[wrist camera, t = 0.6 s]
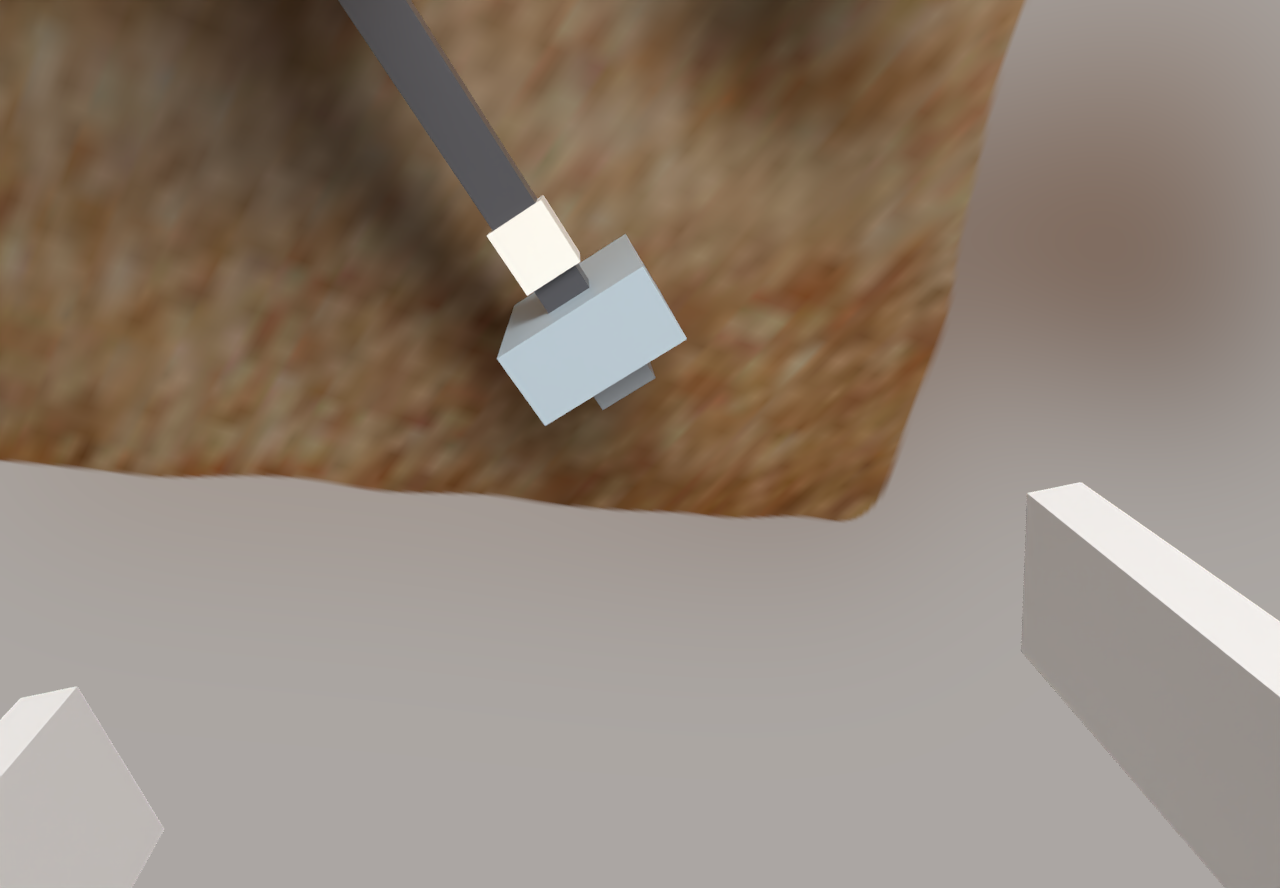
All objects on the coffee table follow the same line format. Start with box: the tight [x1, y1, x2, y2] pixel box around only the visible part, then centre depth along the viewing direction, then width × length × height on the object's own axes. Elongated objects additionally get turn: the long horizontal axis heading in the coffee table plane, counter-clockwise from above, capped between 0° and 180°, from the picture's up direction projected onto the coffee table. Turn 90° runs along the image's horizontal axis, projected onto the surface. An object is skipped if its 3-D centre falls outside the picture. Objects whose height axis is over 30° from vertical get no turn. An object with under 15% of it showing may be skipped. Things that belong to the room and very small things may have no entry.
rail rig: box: [338, 0, 687, 426], centre depth 27 cm, size 29×8×9 cm, turn 31°
